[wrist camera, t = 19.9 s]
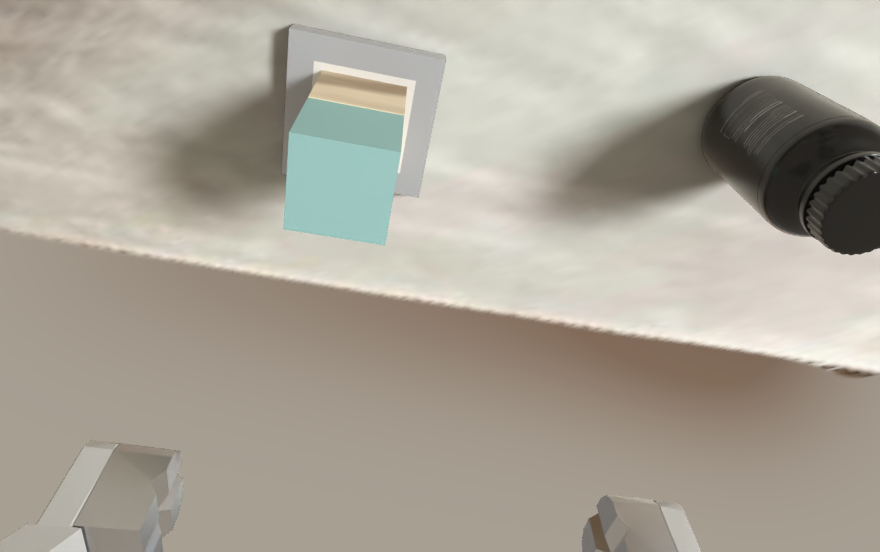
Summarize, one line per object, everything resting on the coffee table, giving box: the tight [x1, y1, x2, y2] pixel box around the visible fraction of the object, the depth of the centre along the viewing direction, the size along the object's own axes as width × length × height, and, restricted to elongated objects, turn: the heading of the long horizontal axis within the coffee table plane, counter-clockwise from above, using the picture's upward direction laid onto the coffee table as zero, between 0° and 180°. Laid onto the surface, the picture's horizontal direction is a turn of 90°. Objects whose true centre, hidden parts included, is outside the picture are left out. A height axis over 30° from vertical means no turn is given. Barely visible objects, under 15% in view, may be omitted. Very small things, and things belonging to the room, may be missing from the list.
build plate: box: [281, 24, 446, 197], centre depth 36 cm, size 9×9×1 cm
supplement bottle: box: [702, 76, 880, 255], centre depth 33 cm, size 7×7×12 cm
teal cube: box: [283, 98, 404, 245], centre depth 29 cm, size 5×5×5 cm
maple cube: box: [308, 70, 407, 116], centre depth 33 cm, size 5×5×5 cm
